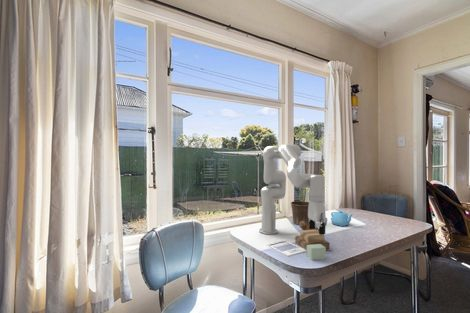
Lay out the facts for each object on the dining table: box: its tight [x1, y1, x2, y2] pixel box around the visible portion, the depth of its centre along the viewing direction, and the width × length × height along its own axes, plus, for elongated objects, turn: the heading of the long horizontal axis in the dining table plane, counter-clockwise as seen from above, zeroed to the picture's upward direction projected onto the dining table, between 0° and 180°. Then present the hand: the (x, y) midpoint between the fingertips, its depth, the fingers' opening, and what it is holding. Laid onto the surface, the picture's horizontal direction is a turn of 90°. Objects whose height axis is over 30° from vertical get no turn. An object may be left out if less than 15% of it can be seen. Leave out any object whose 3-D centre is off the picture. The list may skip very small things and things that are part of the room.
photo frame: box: [266, 240, 307, 257], centre depth 142 cm, size 15×1×18 cm
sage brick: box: [306, 244, 327, 261], centre depth 130 cm, size 5×8×6 cm, turn 102°
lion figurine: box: [298, 221, 319, 231], centre depth 165 cm, size 15×5×9 cm, turn 69°
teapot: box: [330, 210, 354, 227], centre depth 191 cm, size 13×11×18 cm
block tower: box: [294, 229, 330, 252], centre depth 145 cm, size 14×14×8 cm
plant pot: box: [290, 200, 310, 226], centre depth 193 cm, size 16×16×16 cm
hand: (316, 231), depth 129 cm, fingers open, 9 cm apart
